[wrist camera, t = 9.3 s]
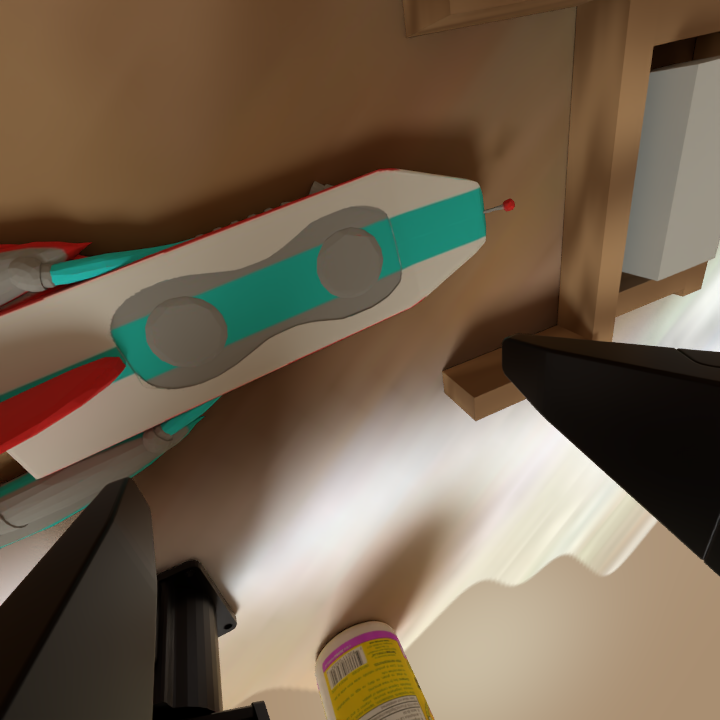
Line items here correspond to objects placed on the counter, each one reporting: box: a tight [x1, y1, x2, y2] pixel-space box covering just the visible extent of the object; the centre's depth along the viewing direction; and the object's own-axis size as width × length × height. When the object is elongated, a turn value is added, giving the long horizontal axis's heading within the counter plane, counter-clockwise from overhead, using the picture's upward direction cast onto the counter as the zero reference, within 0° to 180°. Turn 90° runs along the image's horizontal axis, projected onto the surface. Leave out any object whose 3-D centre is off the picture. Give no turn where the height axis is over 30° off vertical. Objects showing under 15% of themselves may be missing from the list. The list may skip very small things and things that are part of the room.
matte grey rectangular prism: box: [622, 56, 720, 281], centre depth 20 cm, size 4×9×4 cm, turn 11°
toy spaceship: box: [0, 168, 515, 548], centre depth 15 cm, size 27×11×5 cm, turn 110°
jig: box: [402, 0, 720, 421], centre depth 20 cm, size 18×17×3 cm
